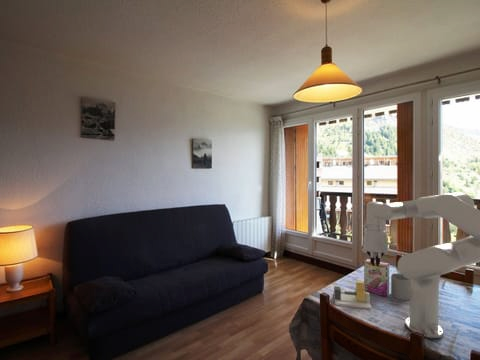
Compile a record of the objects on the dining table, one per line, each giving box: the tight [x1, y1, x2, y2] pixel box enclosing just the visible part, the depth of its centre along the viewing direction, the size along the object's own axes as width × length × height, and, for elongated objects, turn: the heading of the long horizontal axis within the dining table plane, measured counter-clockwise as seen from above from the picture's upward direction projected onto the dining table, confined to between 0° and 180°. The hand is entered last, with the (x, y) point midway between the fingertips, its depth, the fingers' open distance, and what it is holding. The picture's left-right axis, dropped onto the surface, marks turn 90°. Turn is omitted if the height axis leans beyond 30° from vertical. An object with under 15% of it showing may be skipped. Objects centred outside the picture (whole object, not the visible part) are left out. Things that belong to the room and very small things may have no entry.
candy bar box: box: [363, 258, 390, 298], centre depth 134 cm, size 11×5×16 cm, turn 47°
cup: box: [390, 273, 410, 301], centre depth 130 cm, size 8×8×10 cm
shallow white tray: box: [333, 285, 373, 310], centre depth 126 cm, size 11×16×6 cm
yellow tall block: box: [354, 280, 367, 301], centre depth 124 cm, size 4×4×8 cm
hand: (375, 265), depth 122 cm, fingers closed
